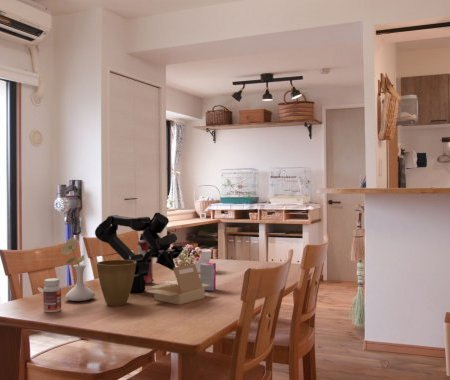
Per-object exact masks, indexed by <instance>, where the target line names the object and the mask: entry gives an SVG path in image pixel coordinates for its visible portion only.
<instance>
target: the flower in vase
mask: <svg viewBox="0 0 450 380" xmlns="http://www.w3.org/2000/svg"><path fill="white" fill-rule="evenodd" d="M77 245H78V240H77V239H76V238H75V237H72V238H68V239H67V240H66V242H65V243H63V245H62V247H61V249H60V251H61V255H64V256H68V255H70V254H71V253H73V256H74V257H71V258H69V259H68V260H67V261H66V264H70V265H71V264H72V263H74V262H75V261H76V263H77V264H73V266H72V267H74V269H75V271H76V284H75V286H73V287H72V288H71V289H70V290H69V291H68V292H67V293H66V294H65V299H66V300H68V301H73V302H82V301H89V300H92V299H93V298H95V296H96V294H95V292H94V291H93V290H92V289H91V288H89V287H88V286H87V285H86V284H85V282H84V271H85V269H86V267H87V264H84V263H83V264H81V263H82V262H83V261H84V260H85V256H84V255H82V256H80V257H78V258H76V254H75V252H74V250H75V248H77ZM79 263H80V264H79Z"/></svg>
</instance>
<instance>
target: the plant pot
mask: <svg viewBox="0 0 450 380" xmlns="http://www.w3.org/2000/svg"><path fill="white" fill-rule="evenodd" d="M96 269H97V274H98V281H99V284H100V285H99V286H100V288H101V291H102V295H103V298H104V301H105V303H106V305H107V306H112V307H116V306H117V307H121V306H124V305H126V304H127V302H128V300H129V298H130V294H131V293H130V291H131V288H132V284H133V280H134V275H135V269H136V261H132V260H124V259H110V260H101V261H97V262H96Z"/></svg>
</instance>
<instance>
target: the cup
mask: <svg viewBox="0 0 450 380" xmlns="http://www.w3.org/2000/svg"><path fill="white" fill-rule="evenodd" d="M201 249H202V253H201V258H200V260H199V263H197V262H195V266H196V269H197V271H198V274H200V264H202V263H210V260H211V259H212V249H208V248H201Z"/></svg>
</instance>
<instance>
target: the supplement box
mask: <svg viewBox="0 0 450 380" xmlns="http://www.w3.org/2000/svg"><path fill="white" fill-rule="evenodd" d="M216 264H217V263H216V262H209V263H202V264H200V273H199V277H200V280H201V283H202V284H208V285H211V286H207V287H203V288H204V292H213V291H215V290H216V280H217V279H216V276H217V275H216V273H217V271H216V270H217V269H216V267H217V265H216ZM200 288H201V287H200Z"/></svg>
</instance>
